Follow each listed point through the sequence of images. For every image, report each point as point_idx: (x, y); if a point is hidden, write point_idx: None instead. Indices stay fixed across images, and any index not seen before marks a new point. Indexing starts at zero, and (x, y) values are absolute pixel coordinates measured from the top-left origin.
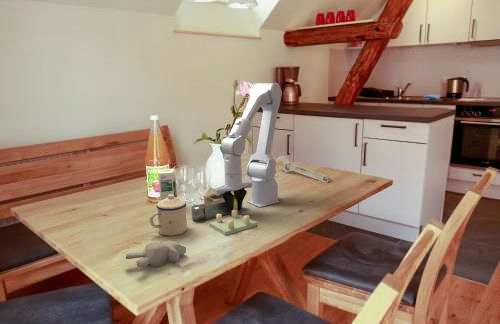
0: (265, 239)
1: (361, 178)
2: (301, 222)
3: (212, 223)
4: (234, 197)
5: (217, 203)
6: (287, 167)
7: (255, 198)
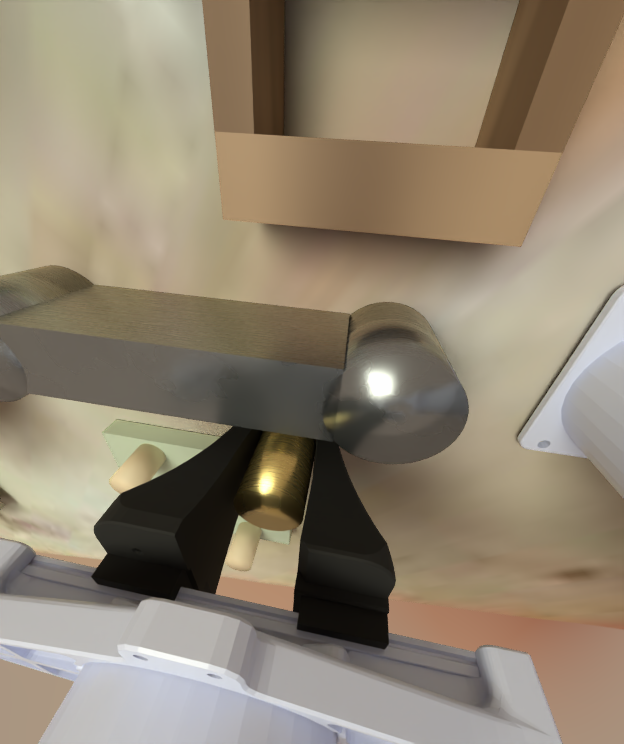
0: (248, 571)
1: None
2: (434, 597)
3: (115, 445)
4: (287, 503)
5: (147, 408)
6: None
7: (599, 434)
